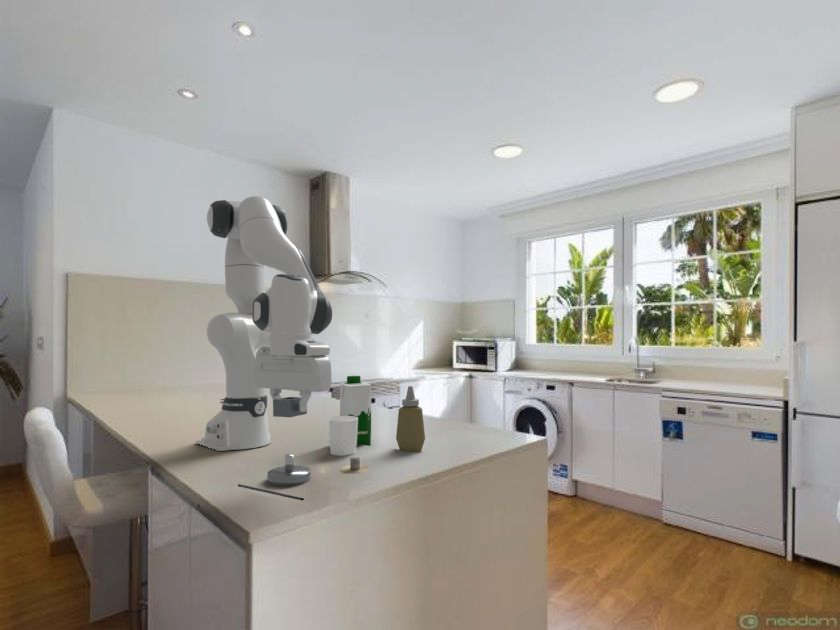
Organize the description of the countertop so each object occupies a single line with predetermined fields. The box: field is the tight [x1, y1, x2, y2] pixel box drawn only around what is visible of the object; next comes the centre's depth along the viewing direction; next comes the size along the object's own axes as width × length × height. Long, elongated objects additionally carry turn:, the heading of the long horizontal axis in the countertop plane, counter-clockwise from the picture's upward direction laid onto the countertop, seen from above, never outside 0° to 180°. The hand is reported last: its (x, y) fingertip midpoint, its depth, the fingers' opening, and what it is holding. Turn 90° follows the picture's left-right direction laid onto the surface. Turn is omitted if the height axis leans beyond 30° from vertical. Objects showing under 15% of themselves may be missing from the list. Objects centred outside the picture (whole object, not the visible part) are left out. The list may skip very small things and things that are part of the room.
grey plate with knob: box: [237, 453, 312, 501], centre depth 98 cm, size 18×12×6 cm, turn 62°
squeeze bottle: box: [395, 385, 426, 453], centre depth 125 cm, size 8×8×18 cm
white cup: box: [327, 415, 358, 456], centre depth 121 cm, size 8×8×10 cm
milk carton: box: [339, 375, 372, 447], centre depth 133 cm, size 9×9×20 cm
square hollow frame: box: [272, 396, 308, 418], centre depth 99 cm, size 5×5×4 cm
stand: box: [339, 456, 371, 475], centre depth 106 cm, size 7×7×4 cm
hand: (290, 410), depth 99 cm, fingers closed on square hollow frame, 5 cm apart
